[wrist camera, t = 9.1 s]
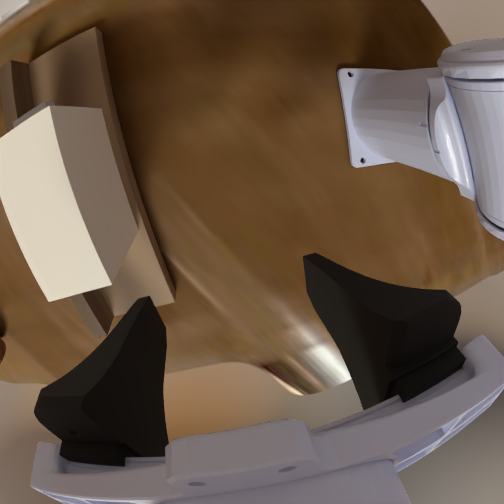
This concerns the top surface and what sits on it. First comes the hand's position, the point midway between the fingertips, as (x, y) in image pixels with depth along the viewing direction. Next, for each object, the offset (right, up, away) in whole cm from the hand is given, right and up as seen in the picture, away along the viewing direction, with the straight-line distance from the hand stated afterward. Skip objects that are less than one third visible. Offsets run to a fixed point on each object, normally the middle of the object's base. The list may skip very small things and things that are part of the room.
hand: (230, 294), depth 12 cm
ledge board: (-11, +7, +5) cm, 14 cm away
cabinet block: (-10, +7, +4) cm, 13 cm away
